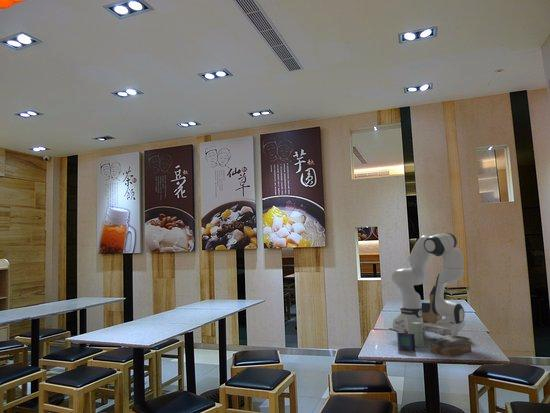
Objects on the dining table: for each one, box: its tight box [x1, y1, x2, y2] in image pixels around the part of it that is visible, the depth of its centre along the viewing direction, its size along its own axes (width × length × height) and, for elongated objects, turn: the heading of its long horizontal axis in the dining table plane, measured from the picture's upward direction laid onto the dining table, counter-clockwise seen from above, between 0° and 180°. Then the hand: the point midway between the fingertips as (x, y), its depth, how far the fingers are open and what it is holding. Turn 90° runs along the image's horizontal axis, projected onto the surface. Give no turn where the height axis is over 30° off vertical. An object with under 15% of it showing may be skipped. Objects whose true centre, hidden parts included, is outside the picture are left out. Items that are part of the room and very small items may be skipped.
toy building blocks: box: [421, 285, 443, 324], centre depth 281 cm, size 12×19×25 cm
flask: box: [396, 329, 416, 353], centre depth 211 cm, size 9×3×11 cm, turn 48°
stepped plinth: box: [430, 335, 472, 358], centre depth 205 cm, size 12×16×6 cm
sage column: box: [411, 322, 425, 348], centre depth 219 cm, size 4×4×12 cm
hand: (428, 330), depth 224 cm, fingers open, 8 cm apart
